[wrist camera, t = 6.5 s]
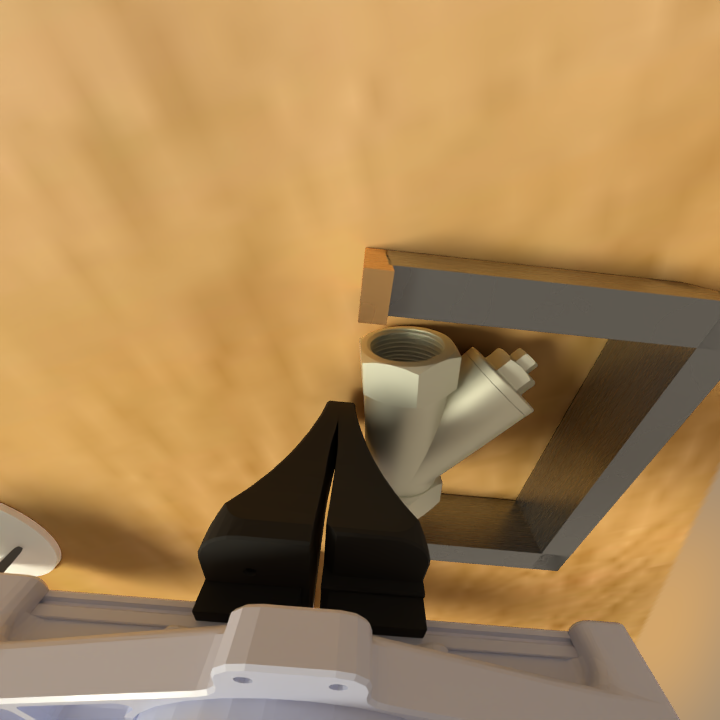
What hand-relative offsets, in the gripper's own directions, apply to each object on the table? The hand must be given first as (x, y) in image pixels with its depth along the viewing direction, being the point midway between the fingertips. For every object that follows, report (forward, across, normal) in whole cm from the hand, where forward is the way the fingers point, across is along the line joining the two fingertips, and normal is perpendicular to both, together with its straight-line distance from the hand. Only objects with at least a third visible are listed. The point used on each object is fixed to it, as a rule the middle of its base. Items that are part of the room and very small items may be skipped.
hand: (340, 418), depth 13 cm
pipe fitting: (+1, -4, -1) cm, 5 cm away
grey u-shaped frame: (+1, -6, 0) cm, 6 cm away
